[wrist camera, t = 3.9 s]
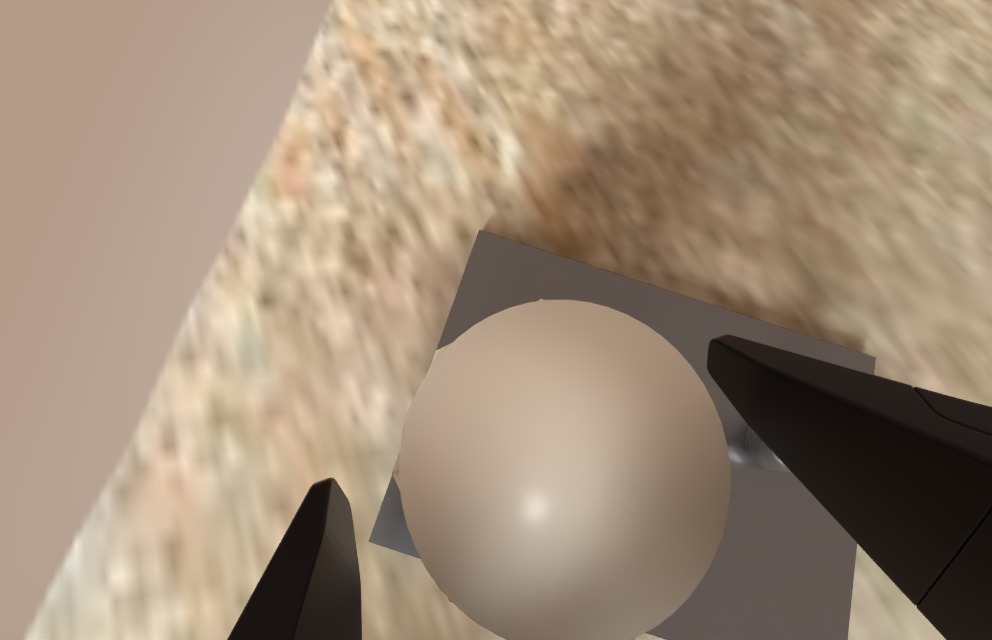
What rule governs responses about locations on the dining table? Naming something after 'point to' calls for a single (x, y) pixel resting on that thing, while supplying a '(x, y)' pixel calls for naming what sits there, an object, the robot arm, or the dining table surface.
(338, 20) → the dining table surface
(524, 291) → the plate
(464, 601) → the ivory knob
